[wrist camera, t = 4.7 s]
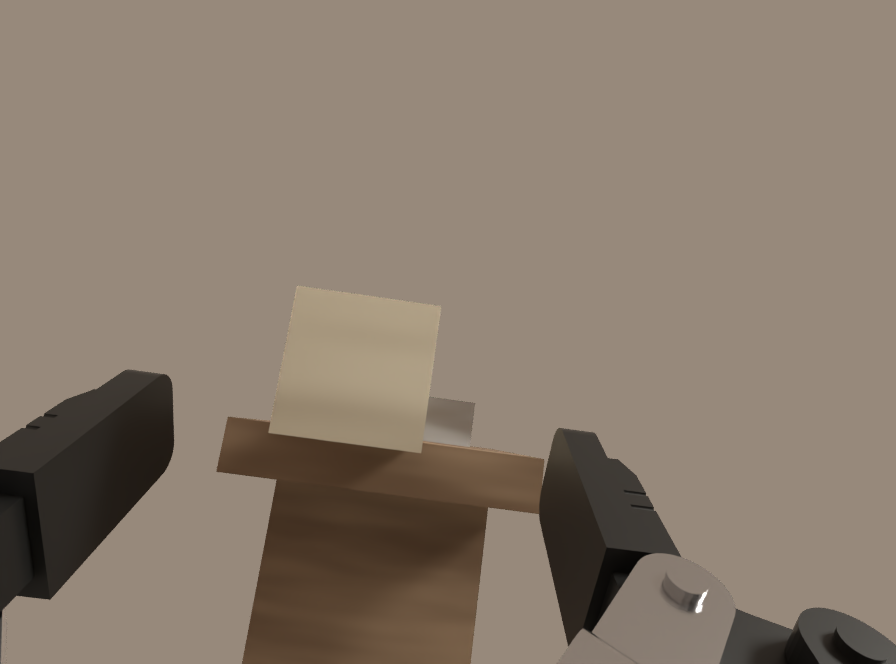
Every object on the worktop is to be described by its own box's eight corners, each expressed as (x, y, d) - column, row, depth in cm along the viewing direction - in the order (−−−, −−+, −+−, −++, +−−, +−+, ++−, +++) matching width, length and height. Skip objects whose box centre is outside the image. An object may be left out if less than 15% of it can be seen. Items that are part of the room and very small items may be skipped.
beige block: (331, 428, 32) (338, 388, 32) (464, 445, 32) (469, 405, 32) (87, 408, 8) (125, 261, 9) (596, 476, 8) (607, 329, 9)
